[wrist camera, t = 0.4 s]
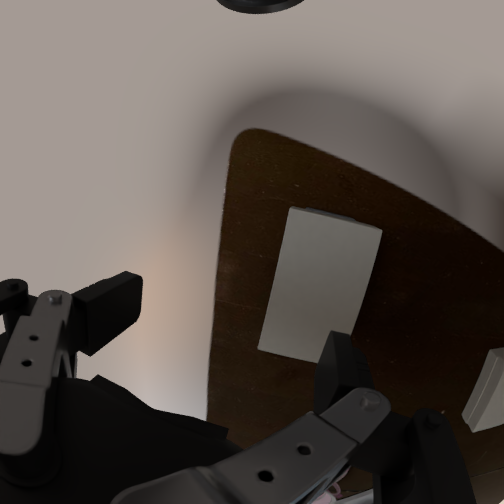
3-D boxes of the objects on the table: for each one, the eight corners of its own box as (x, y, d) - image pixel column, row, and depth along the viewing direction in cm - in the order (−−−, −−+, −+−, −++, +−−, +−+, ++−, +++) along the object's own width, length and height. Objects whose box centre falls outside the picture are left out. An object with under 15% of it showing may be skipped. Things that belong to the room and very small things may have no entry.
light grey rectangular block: (292, 206, 20) (289, 207, 17) (373, 225, 19) (382, 230, 17) (263, 333, 22) (257, 349, 20) (336, 349, 21) (338, 367, 19)
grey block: (489, 347, 23) (505, 364, 19) (521, 343, 21) (537, 357, 18) (461, 414, 25) (471, 433, 21) (492, 407, 24) (503, 424, 20)
